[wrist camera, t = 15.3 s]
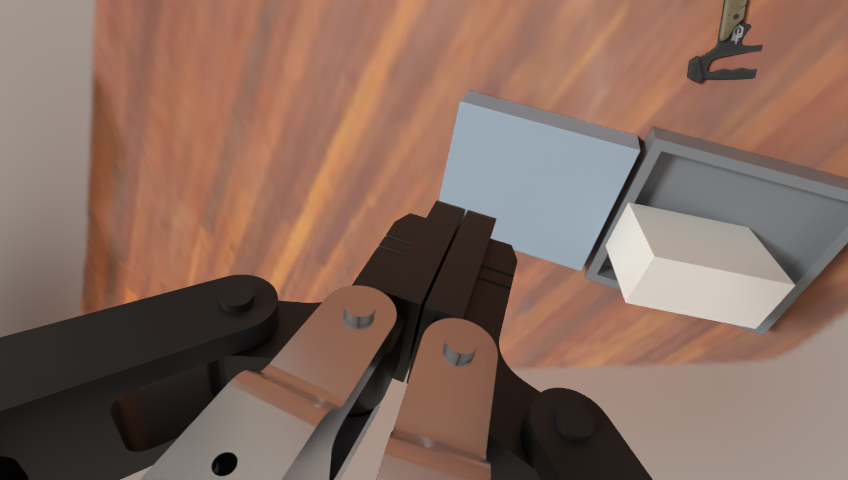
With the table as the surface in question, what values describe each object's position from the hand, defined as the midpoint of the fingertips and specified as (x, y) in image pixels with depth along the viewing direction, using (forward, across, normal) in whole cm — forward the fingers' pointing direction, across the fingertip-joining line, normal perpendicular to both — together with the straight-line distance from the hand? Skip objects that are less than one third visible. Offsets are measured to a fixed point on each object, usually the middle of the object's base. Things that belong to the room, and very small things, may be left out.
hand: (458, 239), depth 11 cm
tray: (+29, -18, +12) cm, 36 cm away
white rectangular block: (+27, -15, +13) cm, 34 cm away
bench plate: (+29, -2, +12) cm, 31 cm away
